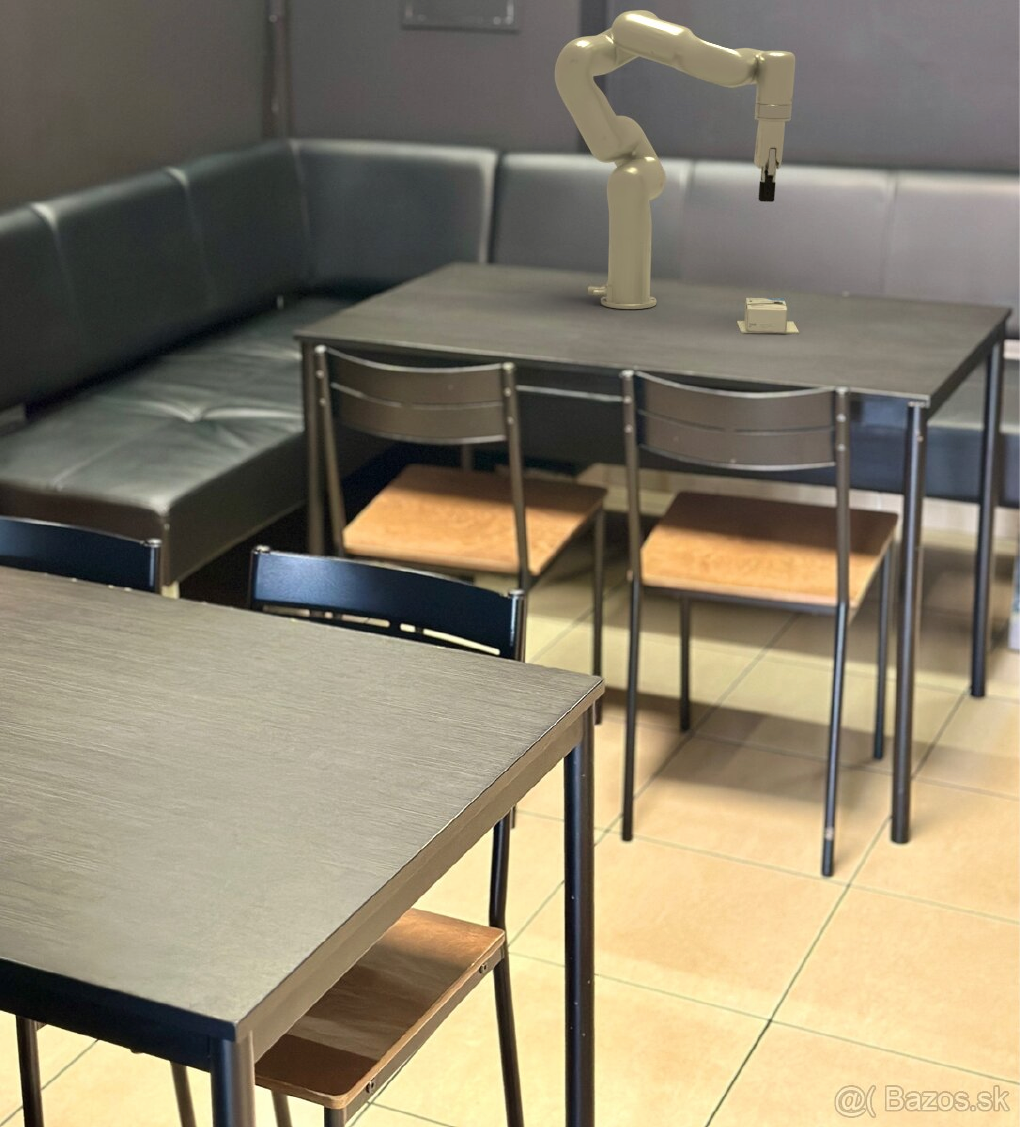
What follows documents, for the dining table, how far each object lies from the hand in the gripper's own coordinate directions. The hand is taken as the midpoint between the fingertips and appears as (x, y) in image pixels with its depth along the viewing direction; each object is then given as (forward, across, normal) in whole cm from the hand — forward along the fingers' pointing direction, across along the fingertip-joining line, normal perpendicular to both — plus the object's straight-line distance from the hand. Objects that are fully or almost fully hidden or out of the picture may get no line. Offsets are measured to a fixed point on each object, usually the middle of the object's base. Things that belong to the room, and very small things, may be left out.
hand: (766, 200), depth 341 cm
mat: (+25, +12, +1) cm, 28 cm away
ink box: (+22, +6, +1) cm, 23 cm away
